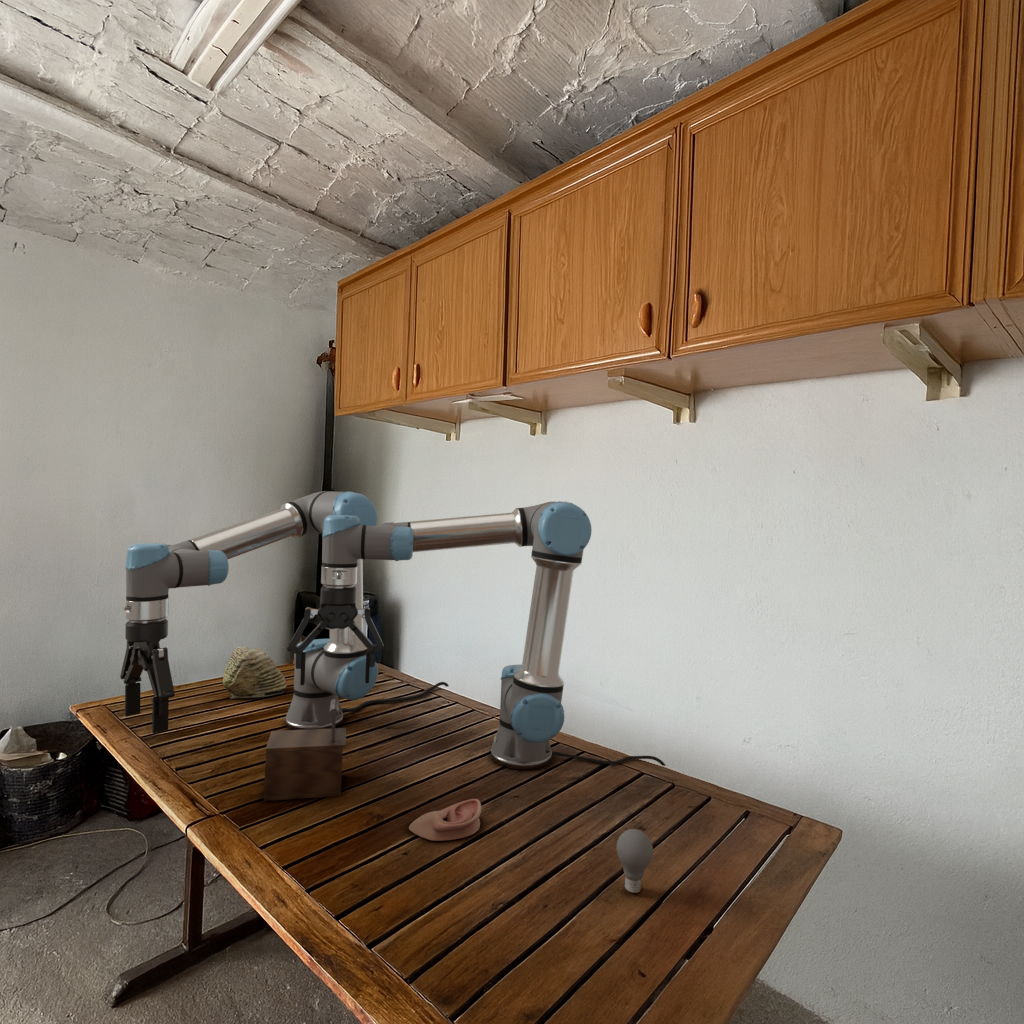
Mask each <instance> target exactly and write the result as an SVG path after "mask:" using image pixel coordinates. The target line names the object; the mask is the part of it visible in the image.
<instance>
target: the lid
mask: <svg viewBox="0 0 1024 1024" xmlns="http://www.w3.org/2000/svg"><path fill="white" fill-rule="evenodd" d="M339 702H340V700H339V701H338V700H337V699H333V700H331V702H330V710H329V715H330V716H331V717H332V728H331V729H308V730H292V729H287V730H271V732H270V735H269V737H268V741H267V744H266V747H265V753H266V752H285V751H304V750H323V749H342V748H343V749H347V728H346V727H335V719H336V716H337V715H338V712H339Z"/></svg>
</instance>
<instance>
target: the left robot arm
mask: <svg viewBox="0 0 1024 1024" xmlns="http://www.w3.org/2000/svg"><path fill="white" fill-rule="evenodd" d="M329 515H349V516H357V517H358V518H359V522H360V525H367V526H377V523H378V512H377V509H376V507H375V505H374V503H373V501H371V500H370V499H369V497H368V496H366V495H364V494H362V493H360V492H354V491H329V490H323V491H318V492H314V493H310V494H308V495H304V496H302V497H299V498H297V499H294V500H291V501H288V502H285V503H284V504H282V505H281V506H280V509H277V510H273V511H270V512H268V513H265V514H262V515H259V516H256V517H253V518H249V519H247V520H243V521H241V522H238V523H235V524H232V525H229V526H226V527H223V528H219V529H218V530H215V531H211V532H208V533H205V534H202V535H199V536H196V537H194V538H193V537H192V538H190V539H188V540H184V541H181V542H178V543H175V544H166V543H162V542H161V543H160V542H159V543H158V542H153V543H151V542H148V543H146V542H144V543H135V544H131V545H129V546H128V548H127V550H126V557H125V567H124V568H125V605H124V606H123V607H122V609H123V610H124V611H125V619H126V620H128V621H126V623H125V626H124V628H125V630H124V633H125V634H124V635H125V640H126V650H125V654H124V658H123V662H122V666H121V670H120V674H119V675H120V676H119V678H120V679H121V680H123V684H124V717H126V718H127V717H131V716H136V715H140V714H141V687H142V686H141V684H142V683H141V682H142V677H141V676H142V674H143V671H144V672H147V675H148V680H149V684H150V686H151V690H152V693H153V696H152V698H151V699H150V701H151V703H152V705H151V706H152V707H151V709H152V713H151V715H152V717H151V719H152V720H151V733H152V734H157V733H161V732H166V731H169V711H170V710H169V705H170V703H169V699H171V698H174V697H175V695H176V693H175V688H174V683H173V677H172V673H171V668H170V663H169V650H168V647H166V646H165V647H161V645H160V642H161V641H162V640H164V639H166V638H168V635H169V620H168V619H167V618H168V617H169V604H170V603H169V602H170V598H169V590H170V589H177V588H178V589H179V588H189V587H202V586H203V587H205V586H208V587H210V586H213V585H219V584H222V583H224V582H225V581H226V580H227V578H228V575H229V567H230V565H229V560H230V559H233V558H235V557H239V556H241V555H243V554H247V553H249V552H252V551H254V550H257V549H260V548H263V547H265V546H268V545H270V544H273V543H277V542H278V541H282V540H284V539H287V538H289V537H292V538H294V539H298V538H301V537H303V536H307V535H308V536H309V535H321V536H322V535H323V530H324V520H325V518H326V517H327V516H329ZM321 538H322V539H323V537H321ZM363 560H364V559H358V561H357V583H356V584H355V585H354V586H355V587H356V608H357V609H363V608H364V572H363V571H364V570H363V569H364V566H363V565H364V564H363V563H364V561H363ZM353 621H354V622H355V623H356V624H357V626H358V627H359V628H360V629H361V631H362V632H363V633H364V618H362V617H361V615H360V614H357V616H356V617H355V619H354V620H353ZM302 642H303V641H300V642H299V643H297V644H296V646H299V645H300V644H301V643H302ZM366 651H369V650H368V649H367V647H366V646H365V645H364V644H363V643H362V642H361V640H360V639H359V638H358V637H357V636H356V634H355V633H354V632H353V631H352V630H351V629H350V628H349V627H347V628H345V629H339V628H336V629H330V628H329V638H318V639H316V638H315V639H314V640H313V641H312V642H311V643H310V644H309V645H308V647H307V648H306V649H305V650H304V651H303V652H306V663H305V683H304V685H300V679H301V669H296V667H295V666H296V654H295V653H294V655H293V657H294V672H293V673H294V674H293V695H292V696H293V697H292V699H291V702H290V704H288V705H287V713H286V715H285V726H286V728H287V729H288V730H308V729H331V728H332V717H331V716H330V715H329V710H330V702H331V700H333V699H337V700H338V701H339V712H338V715H337V716H336V719H335V728H338V727H339V726H340V725H342V723H343V722H344V714H343V713H352V712H353V713H354V712H356V711H359V710H360V709H362V708H364V707H365V706H367V705H371V704H380V703H381V704H383V703H397V702H405V701H411V700H415V699H419V698H421V697H423V696H425V695H426V694H428V693H429V692H431V691H433V690H435V689H436V688H438V687H440V686H445V687H446V688H447V687H450V685H449V684H448V683H447V682H445V681H440V682H437V683H436V684H434V685H432V686H433V687H432V686H430V687H428V688H427V689H425V690H424V691H423V692H421V693H418V694H414V695H410V696H404V697H395V698H378V699H370V700H366V701H364V702H362V703H360V704H359V705H357V706H355V707H351V708H350V707H349V708H347V707H346V708H344V707H343V708H342V706H341V702H340V699H342V700H348V701H357V700H360V699H362V698H364V697H365V696H367V695H368V694H369V693H370V692H371V690H372V688H374V687H375V685H376V683H377V680H378V677H379V666H378V663H377V662H376V661H375V666H374V667H370V670H369V683H365V671H366ZM339 698H340V699H339Z"/></svg>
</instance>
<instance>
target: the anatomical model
mask: <svg viewBox="0 0 1024 1024" xmlns="http://www.w3.org/2000/svg"><path fill="white" fill-rule="evenodd" d="M481 814H482V803H481V801H480V800H479V799H478V798H470V799H466V800H463V801H460V802H457V803H454V804H452V805H449V806H447V807H445V808H443V809H440V810H433V811H429V812H426V813H424V814H422V815H420V816H419V817H417V818H416V819H414V820H413V821H412V822H411V823H410V825H409V826H408V830H409V831H410V832H411V833H413V834H415V835H416V836H418V837H420V838H423V839H425V840H428V841H433V842H443V841H452V840H457V839H458V840H459V839H463V838H466V837H467V838H468V837H469V836H472V835H473V834H475V833H477V832H478V831H479V830H480V828H481V820H480V817H481Z"/></svg>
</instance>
